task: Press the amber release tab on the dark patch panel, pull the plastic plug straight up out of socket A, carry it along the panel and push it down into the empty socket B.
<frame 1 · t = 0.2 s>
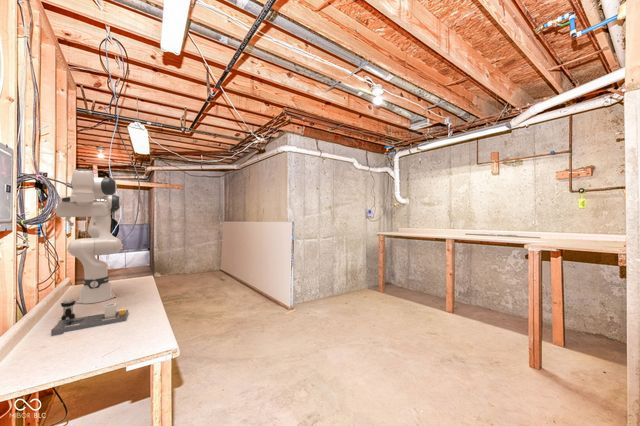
hand: (83, 225, 135), 48 cm above the workbench, fingers open, 8 cm apart
plug: (110, 321, 128), resting on panel
panel: (93, 325, 124), on the workbench
release tab: (122, 313, 130), point 3 cm above the workbench, slide at 0.0 cm
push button: (66, 320, 130), on the workbench
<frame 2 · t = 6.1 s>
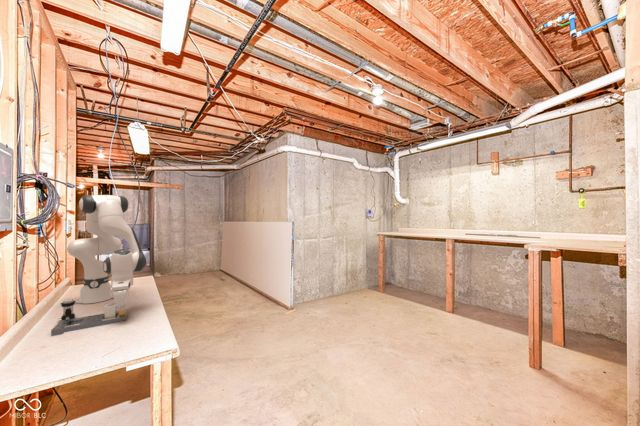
hand: (122, 310, 130), 5 cm above the workbench, fingers closed, pressing on release tab
release tab: (122, 314, 130), point 3 cm above the workbench, slide at 0.3 cm, touching gripper
everything else where it was.
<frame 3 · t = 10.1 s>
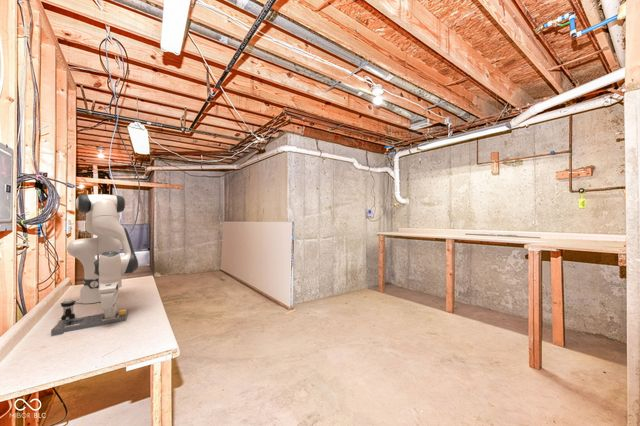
hand: (110, 312, 128), 5 cm above the workbench, fingers closed on plug, 4 cm apart
plug: (110, 321, 128), point 1 cm above the workbench, touching gripper, panel
release tab: (122, 314, 130), point 3 cm above the workbench, slide at 0.4 cm
everything else where it was.
when the fingers open (6 cm above the workbench, at t = 16.1 s): plug stays where it is, resting on panel.
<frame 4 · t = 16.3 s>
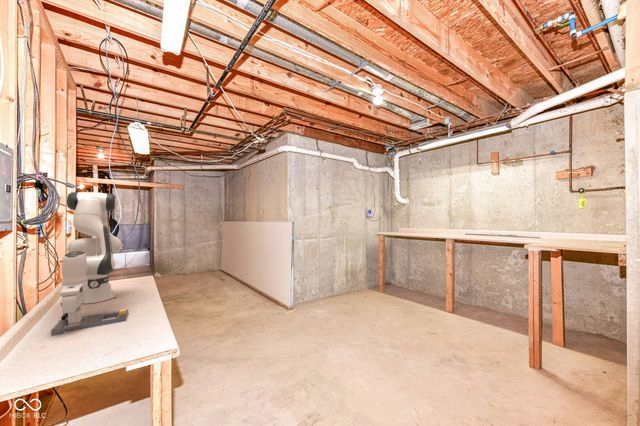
hand: (75, 316, 121), 6 cm above the workbench, fingers open, 5 cm apart
plug: (75, 327, 121), point 1 cm above the workbench, touching panel
everything else where it was.
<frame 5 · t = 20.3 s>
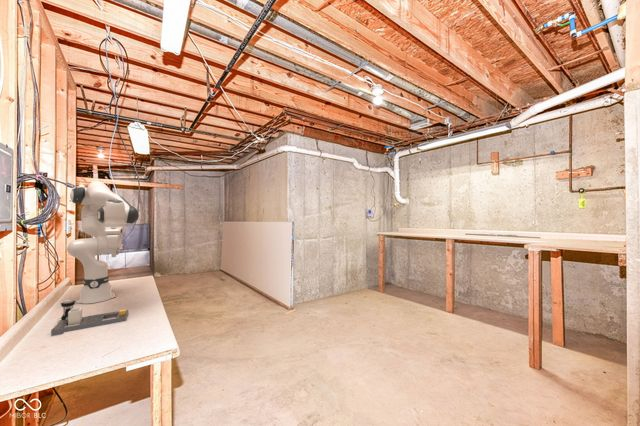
hand: (115, 255, 138), 31 cm above the workbench, fingers open, 8 cm apart
nothing on the workbench moved.
at the end: plug 0.1 cm from the target spot on the panel, point 0.5 cm above the panel's base; plug tilted 0°; the gripper is holding nothing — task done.
